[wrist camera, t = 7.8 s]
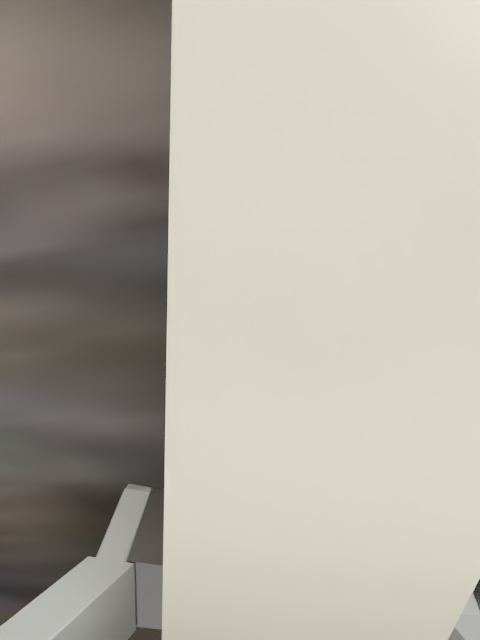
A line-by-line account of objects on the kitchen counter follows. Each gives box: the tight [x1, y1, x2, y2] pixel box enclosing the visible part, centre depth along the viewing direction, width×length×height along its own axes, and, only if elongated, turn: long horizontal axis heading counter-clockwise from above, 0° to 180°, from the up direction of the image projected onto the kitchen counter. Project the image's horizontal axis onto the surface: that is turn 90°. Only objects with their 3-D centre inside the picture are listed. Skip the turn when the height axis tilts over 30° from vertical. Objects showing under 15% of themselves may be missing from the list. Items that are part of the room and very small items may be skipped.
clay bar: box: [162, 0, 480, 640], centre depth 7 cm, size 15×3×5 cm, turn 175°
